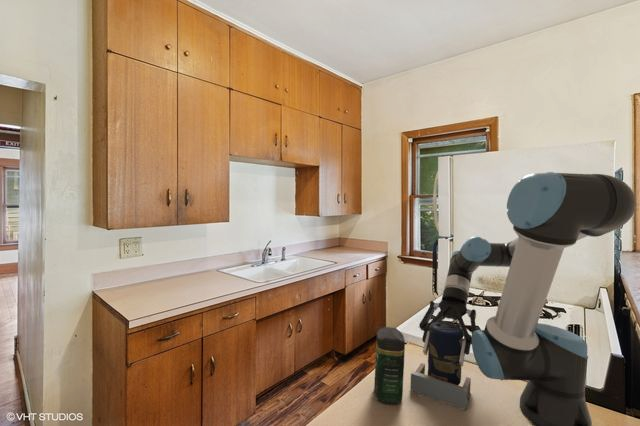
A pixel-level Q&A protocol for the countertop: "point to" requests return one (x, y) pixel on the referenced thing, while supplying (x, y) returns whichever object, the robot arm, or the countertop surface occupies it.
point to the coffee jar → (389, 365)
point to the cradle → (466, 384)
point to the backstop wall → (439, 390)
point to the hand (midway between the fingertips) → (442, 358)
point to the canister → (445, 352)
